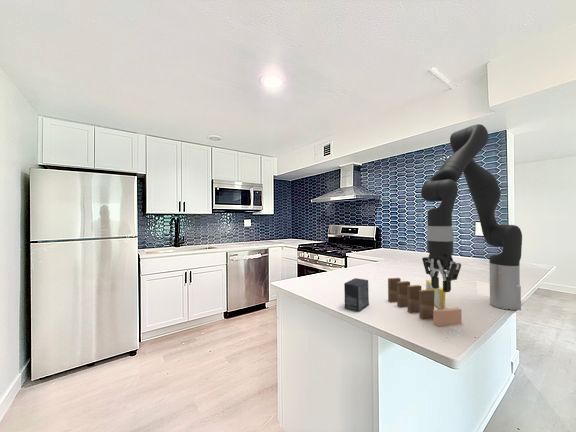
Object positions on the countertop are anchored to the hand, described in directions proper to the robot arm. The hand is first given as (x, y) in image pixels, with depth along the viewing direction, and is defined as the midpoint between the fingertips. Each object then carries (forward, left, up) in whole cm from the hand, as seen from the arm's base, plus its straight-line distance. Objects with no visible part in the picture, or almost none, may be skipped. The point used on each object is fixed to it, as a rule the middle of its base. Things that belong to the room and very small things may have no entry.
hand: (440, 289), depth 83 cm
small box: (+30, 0, -12) cm, 32 cm away
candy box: (+5, -23, -12) cm, 26 cm away
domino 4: (+5, -4, -12) cm, 13 cm away
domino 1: (+19, -15, -12) cm, 27 cm away
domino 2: (+14, -11, -12) cm, 22 cm away
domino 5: (+2, +2, -10) cm, 10 cm away
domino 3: (+10, -8, -12) cm, 17 cm away
